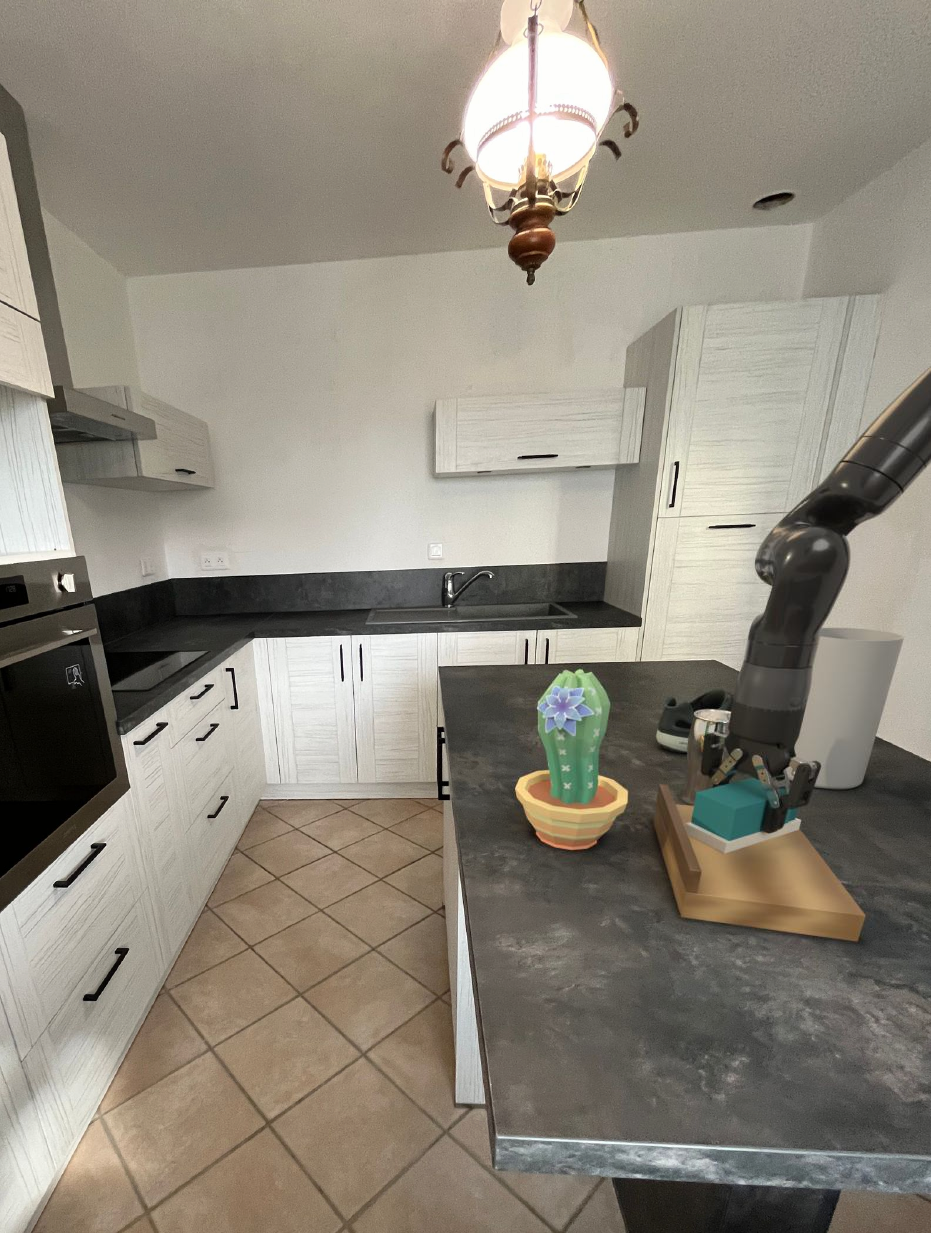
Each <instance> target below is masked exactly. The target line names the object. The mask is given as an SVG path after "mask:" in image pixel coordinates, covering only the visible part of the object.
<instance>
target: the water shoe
mask: <svg viewBox="0 0 931 1233" xmlns="http://www.w3.org/2000/svg"><path fill="white" fill-rule="evenodd" d="M734 694H735V691H734V692H732V693H730V692H728V690H726V689H725V688H714V689H712V690H710V691H707V692H704V693H702V694H701V695H698V696H697V697H695V698H694V699H692V700H690V701H689V702H688V701H686V700H685V701H681V702H679V703H677V700H676V698H675V697H673V696H668V697H667V698H666V700H665V702H664V704H663V705H664V708H663V711H662V713H661V715H660V718H659V721H658V723H657V726H658V729H657V731H656V735H655V738H656V741H657V743H658V744H659V745H660V746H661V747H662V748H663V749H666V750H669V751H670V752H674V753H678V754H687V744H688V737H689V732H690V728H691V724H692V720H693V717H694V712H696V711H698V710H705V709H715V710H724V711H729V712H731V709H732V704H733V699H734ZM729 695H730V697H729Z"/></svg>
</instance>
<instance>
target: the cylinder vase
mask: <svg viewBox="0 0 931 1233" xmlns="http://www.w3.org/2000/svg"><path fill="white" fill-rule="evenodd" d="M904 639H905V636H904V635H902V634H900V633H896V632H891V631H886V630H878V629H871V628H870V629H869V628H855V627H822V629H821V633H820V639H819V644H818V648H817V652H816V656H815V661H814V665H813V670H812V683H811V688H810V692H809V697H808V701H807V705H806V709H805V714H804V718H803V722H802V726H801V730H800V734H799V738H798V740H797V742H796V744H795V753H796V757H798V758H800V759H803V760H805V761H808V762H811V761H818V762H819V763H820V764H821V769H820V772H819V775H818V777H817V780H816V783H815V786H814V788H817V789H824V790H849V789H855V788H857V787H859V786H860V785H862V783H863V782H864V778H865V775H866V771H867V768H868V765H869V761H870V757H871V754H872V751H873V748H874V743H875V740H876V737H877V733H878V730H879V726H880V724H881V720H882V716H883V712H884V709H885V706H886V702H887V699H888V695H889V692H890V687H891V685H892V681H893V678H894V674H895V671H896V667H897V664H898V660H899V656H900V653H901V649H902V646H903V643H904ZM786 771H787V774H788V778H789V781H791V782H792V781H793V778H794V776H792V775H791V773H792V767H791V766H789V767H788V768H786Z"/></svg>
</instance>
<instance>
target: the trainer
mask: <svg viewBox="0 0 931 1233" xmlns="http://www.w3.org/2000/svg"><path fill="white" fill-rule="evenodd" d="M693 806H694V809H693V814H692V820H691V822H689V823H686V825H685V830H686V832H687V835H689V836H691V837H693V838H695V839H697V840H699V841H701V842H703V843H705V844H707V845H709V846H711V847H713V848H715V849H716V850H718V851H720V852H722V853H724V854H725V853H728V852H731V851H734V850H738V849H741V848H744V847H747V846H750V845H753V844H756V843H759V842H762V841H766V840H769V839H772V838H775V837H778V836H781V835H784V834H787V833H790V832H794V831H797V830H799V829H800V827H801V823H802V819H800V818H797V814H798V810H799V807H798V808H795V809H788V811H787V815H786V819H785V823H784V827H783V828H782V829H780V830H778V831H776V832H773V833H770V834H768V833H766V832H763V831H762V828H763V824H764V820H765V815H766V811H767V807H768V806H770V803H769V800H768V796H767V793H766V791H765V790H763V789H762V786H761V783H760V780H757V779H755V778H753V777H749V778H746V779H745V778H744V779H742V780H738V781H733V782H729V784H726V785H722V786H718V787H714V788H711V789H707V790H703V791H699V792H696V798H695V803H694V805H693Z"/></svg>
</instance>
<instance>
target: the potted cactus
mask: <svg viewBox="0 0 931 1233" xmlns="http://www.w3.org/2000/svg"><path fill="white" fill-rule="evenodd" d="M610 708H611V701H610V699H609V697H608V694H607V691H606V690H605V689H604V687H603V686H602V684H601V683H600V681H599V680H598V678H597V677H596V675H595V674H594V673H593V672H592V671H590V672H586V673H585V672H584V670H583V669H580V668H579V669H577V670H576V671H575V672H572V671H570V670H567V669H565V670H563V671H562V672H561V673H558V675H557V676H556V678H554V680H553V681H552V683H551V684H550V685H549V686H548V688H547V689H546V690H545V691H544V693H543V694H542V696H541V697H540V698H539V700H538V701H537V707H536V709H537V733H538V735H539V737H540V739H541V742H542V744H543V747H544V750H545V753H546V759H547V760H546V761H547V766H548V769H545V770H536V771H534V772H531V773H529V774H526V775H523V776H521V777H519V779H518V782H517V783H516V786H515V788H514V789H515V790H514V791H515V794H516V798H517V800H518V801H519V802H520V803H521V805H522V807H523V810H524V814H525V816H526V819H527V820H528V821H529V823H530V824H531V825H532V827H533V828H534V830H535V835H536V836H537V837H538V839H539V840H540V841H541V842H543V843H545V844H547V845H549V846H551V847H554V848H558V849H564V850H569V851H576V850H584V849H589V848H591V847H593V846H595V845H596V844H598V840H599V839H600V838H601V837H602V836H603V835H604V834H606V833H607V832H608V831H609V830H610V829H611V827H612V826H613V824H614V822H615V820H616V819H617V817H618V816H620V815H622V814H623V813H624V812H625V810H626V807H627V804H628V801H629V798H628V797H629V796H628V795H629V791H628V789H626V788H625V787H623V786H622V785H621V784H620V783H618V782H617V781H615V780H614V779H612V778H609V777H606V776H604V775H600V774H599V763H600V762H599V759H600V754H599V752H600V748H601V745H602V742H603V741H604V738H605V734H606V732H607V727H608V722H609V716H610V715H609V714H610Z"/></svg>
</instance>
